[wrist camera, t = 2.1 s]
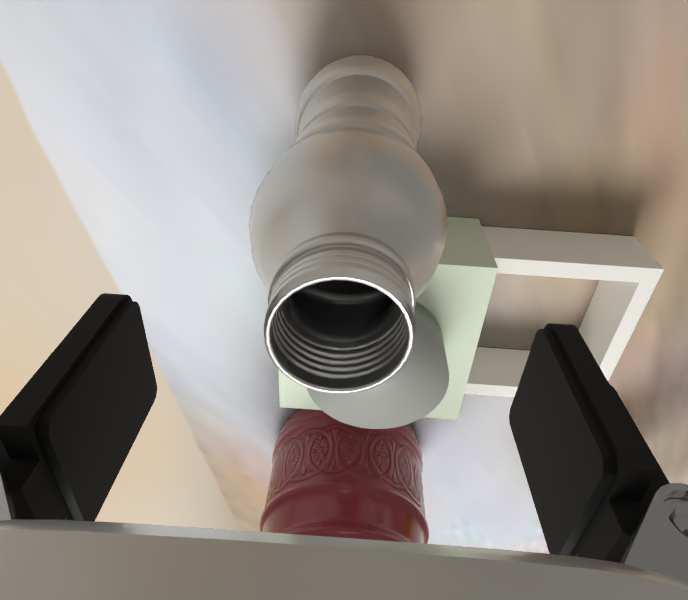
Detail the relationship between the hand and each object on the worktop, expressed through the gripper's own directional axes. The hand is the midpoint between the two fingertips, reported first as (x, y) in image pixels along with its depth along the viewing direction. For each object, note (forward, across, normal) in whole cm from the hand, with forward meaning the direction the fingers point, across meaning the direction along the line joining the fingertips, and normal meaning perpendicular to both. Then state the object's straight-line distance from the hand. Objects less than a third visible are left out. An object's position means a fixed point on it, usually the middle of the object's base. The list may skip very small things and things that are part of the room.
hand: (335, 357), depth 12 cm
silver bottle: (+20, 0, -1) cm, 20 cm away
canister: (+21, -1, +28) cm, 35 cm away
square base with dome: (+20, -7, +11) cm, 24 cm away
